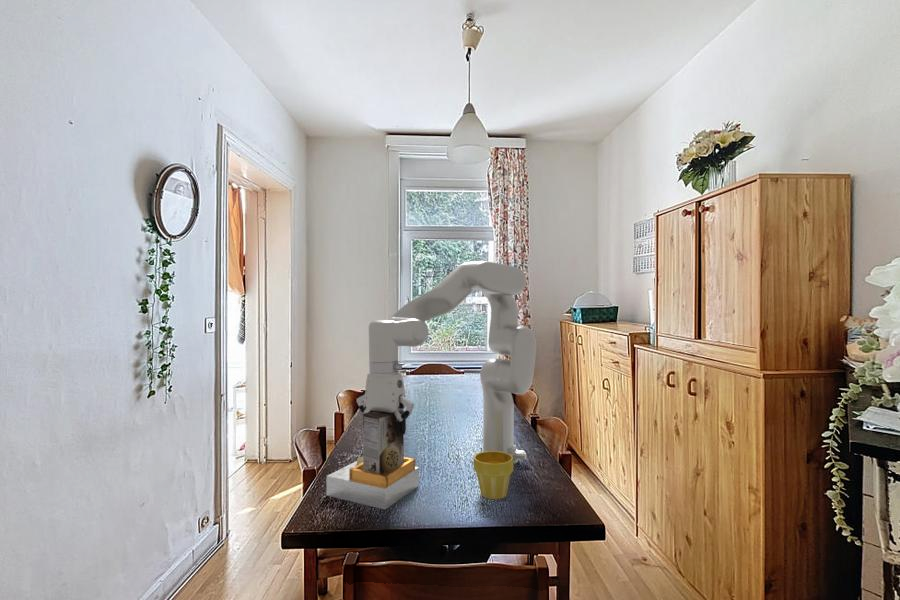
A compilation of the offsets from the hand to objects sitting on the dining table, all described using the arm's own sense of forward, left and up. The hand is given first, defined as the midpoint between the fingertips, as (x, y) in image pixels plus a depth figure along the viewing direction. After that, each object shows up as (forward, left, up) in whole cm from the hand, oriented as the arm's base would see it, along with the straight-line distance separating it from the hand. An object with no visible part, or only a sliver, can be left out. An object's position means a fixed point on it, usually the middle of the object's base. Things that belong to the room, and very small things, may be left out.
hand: (385, 432), depth 124 cm
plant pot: (-26, -12, -16) cm, 32 cm away
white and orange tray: (+3, 0, -16) cm, 16 cm away
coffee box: (0, 0, -11) cm, 11 cm away
